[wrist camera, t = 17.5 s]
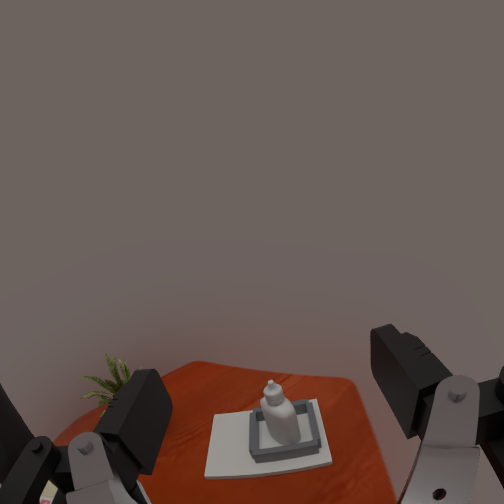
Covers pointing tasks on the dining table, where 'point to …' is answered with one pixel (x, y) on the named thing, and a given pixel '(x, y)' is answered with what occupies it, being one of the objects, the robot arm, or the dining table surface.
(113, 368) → the house plant
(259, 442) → the bottle holder
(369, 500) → the dining table surface
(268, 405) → the eye dropper bottle
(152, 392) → the robot arm
